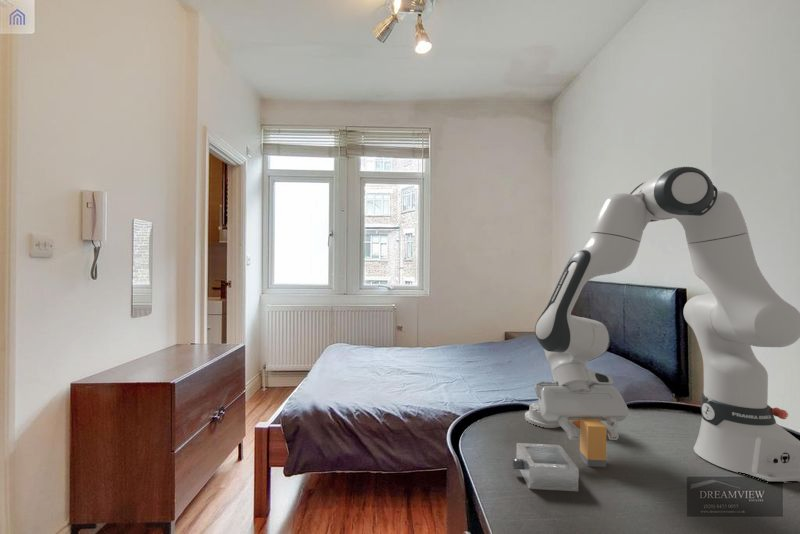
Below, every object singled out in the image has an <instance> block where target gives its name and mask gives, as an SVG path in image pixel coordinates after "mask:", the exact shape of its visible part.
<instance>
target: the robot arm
mask: <svg viewBox="0 0 800 534" xmlns="http://www.w3.org/2000/svg"><path fill="white" fill-rule="evenodd" d="M603 201H604V202H603V203H602V205H601V207H600V209H599V210H598V213H597V214H596V217H595V220H594V222H593V225H592V227H591V230H590V234H589V237H588V239H587V241H586V242H585V244H584V246H583V247H582V248H581V250H579V251H575V252H574V253H573V254H572V256H571V257H570V258H569V260H568V262H567V263H566V266H565V267H564V269H563V271H562V273H561V276H560V277H559V280H558V281H557V284H556V285H555V288H554V290H553V293H552V295H551V297H550V299H549V300H548V303H547V304H546V307H545V308H544V310H543V312H542V313H541V315H540V316H539V317H538V319H537V321H536V323H535V325H534V326H535V327H534V333H535V334H534V335H535V338H536V339H537V342H538V343H539V344H540V346H541V347H542V348H543V352H544V355H545V358H546V361H547V363H548V364H549V366H550V369H551V371H550V372H551V377H552V379H553V381H539V382H538V383H536V385H535V386H534V391H535V395H536V397H537V398H538V402H539V405H540V411H541V415H542V417H543V418H544V419H545V420H553V421H558V422H559V425H560V427H561V428H562V429H563V430H564V431H565V433H566V434H567V437H568V439H569V440H577V439H578V438H579V435H578V433H577V429H575V428H572V427H571V426H570V424H569V423H568V421H569V422H571V421H572V422H573V421H580V419H598V420H599V421H600V422H606V424H607V426H609V429H608V430H607V436H608V437H607V439H608V440H611V441H617V440H618V439H619V433H618V431H617V427H618V423H619V422H623V421H624V420H625V419H627V417H629V415H630V414H629V413H630V410H629V408H628V406H627V404H626V402H625V401H626V400H625V399H624V398H623V396H622V394H621V393H620V390H619V389H617V388H616V387H615V386H613V384H614V381H613V378H612V377H611V376H610V375H608V374H603V373H600V372H598V371H597V372H596V371H594V370H592V369H589V368H588V367H587V365H586V364H587V362H591V361H594V360H595V359H597V358H599V357H601V356H603V355H604V354H606V353H607V350H608V349H609V347H610V343H611V336H610V332H609V330H608V327H607V326H606V325H605V324H604V323H603V322H601V321H598V320H595V319H591V318H588V317H587V318H586V317H584V316H583V317H581V316H576V315H574V314H572V311H573V309H574V307H575V305H576V303H577V300H578V299H579V296H580V294H581V292H582V290H583V288H584V286H585V285H586V283H588V282H589V281H590V280H592V279H594V278H595V277H600V276H605V275H612V274H616V273H619V272H621V271H623V270H625V269H627V268H628V267H630V266H631V265H632V263H634V260H635V259H636V257H637V254H638V251H639V248H640V245H641V241H642V237H643V234H644V230H645V229H646V227H647V226H648V224H649V223H650V222H651V223H652V222H658V221H666V220H671V219H676V220H677V221H678V222H679V223H680V225H681V226H682V228H683V230H684V232H685V233H684V234H685V239H686V242H687V243H686V244H687V248H688V251H689V257H690V261H691V264H692V268H693V272H694V274H695V276H696V277H697V278H699V279H700V280H701V281H702V282H703V283H704V284H705V285H706V286H707V287H708V289H709V290H710V291H711V292H709V293H708V292H707V293H702V294H698V295H694V296H692V297H691V298H689V299H688V300H687V301H686V303H685V304H684V307H683V310H682V311H683V317H684V320H685V322H686V323H687V324H688V325H689V326H690V327H691V329H692V331H693V333H694V335H695V338H696V340H697V344H698V346H699V350H700V353H701V357H702V364H703V392H702V393H701V396H700V411H701V421H700V426H699V430H698V431H699V432H698V434H697V439H696V441H695V444H694V446H693V451H694V453H695V454H696V455H698V456H699V457H700V458H702V459H703V460H705V461H706V462H708V463H711V464H713V465H715V466H717V467H720V468H722V469H724V470H725V469H726V470H727V471H732V472H735V473H738V472H742V473H746V474H750V475H753V476H756V477H759V478H762V479H765V480H767V481H790V480H798V479H800V440H799V439H798V438H796V437H795V436H794V435H792V434H791V433H790V432H788V431H787V430H786V429H785V428H783V427H782V426H781V425H780V424H778V423H777V421H776V419H775V417H777V418H779V419H781V420H786V419H787V418H788V417H789V413H788V412H787V410H784V409H782V408H779V407H771V405H768V399H769V398H768V397H769V394H768V392H769V390H768V388H769V375H768V371H767V369H766V367H765V366H764V365H763V364H762V363H761V362H760V360H758V358H757V357H756V355H755V353H754V351H753V348H752V346H753V347H758V348H785V347H788V346H791V345H793V344H795V343H796V342H797V341H798V340H799V339H800V311H799V310H798V309H797V308H796V307H795V306H793V305H792V304H790V303H789V302H787V301H786V300H784V299H783V298H782V297H781V296H780V295H779V294H778V293H777V292H776V291H775V290H774V289H773V287H772V286H771V285H770V283H769V282H768V280H767V278H766V277H765V276H764V275H763V273H762V271H761V270H760V267H759V264H758V263H757V260H756V256H755V253H754V250H753V246H752V241H751V239H750V235H749V229H748V227H747V223H746V221H745V218H744V215H743V213H742V210H741V208H740V207H739V204H738V203H737V201H736V199H735V197H734V195H732V194H731V193H729V192H727V191H722V190H718V188H717V187H716V186H715V185H714V183H713V182H712V179H711V178H710V177H709V176H708V174H707V173H705V172H704V171H703V170H701V169H699V168H698V167H693V166H681V167H674V168H671V169H669V170H667V171H663V172H660V173H657V174H656V175H653V176H652V177H650V178H649V179H648V180H646V181H645V182H642V183H640V184H639V185H638V186H636V187H634V189H633V190H632V191H631V192H630V193H627V192H626V193H616V194H613V195H611V196H610V195H609V196H608V197H607V198H606V199H605V200H603Z"/></svg>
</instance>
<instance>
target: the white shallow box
mask: <svg viewBox="0 0 800 534" xmlns="http://www.w3.org/2000/svg"><path fill="white" fill-rule="evenodd" d="M515 454H516V457H515V458H512V459H511V466H512V469H513V470H519V471H520V473H521V476H522V477H523V479H524V482H525V484H526V485H527V488H528V489H530V490H546V491H562V492H564V491H565V492H579V474H580V473H579V470H580V469H579V467H578V466H577V465H576V463H575V462H574V461H573V459H572V458H571V457H570V456H569V454H568V453H567V452H566V451H565V449H564V448H563V447H562V445H561V444H550V443H549V444H547V443H546V444H545V443H530V442H529V443H527V442H525V443H524V442H516V453H515Z"/></svg>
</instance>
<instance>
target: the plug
mask: <svg viewBox="0 0 800 534" xmlns="http://www.w3.org/2000/svg"><path fill="white" fill-rule="evenodd" d="M607 429H608V428H607V426H606V425H605V424H604V423H603V421H599V420H598V419H580V430H579V458H580V459H581V460H582V462H584V464H585V465H586V466H587V467H597V468H599V467H600V468H607V436H608V435H607V432H608V430H607Z"/></svg>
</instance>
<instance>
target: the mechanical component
mask: <svg viewBox="0 0 800 534" xmlns="http://www.w3.org/2000/svg"><path fill="white" fill-rule="evenodd" d="M524 419H525V421H526V422H527V421H528V422H527V423H529V424H530V423H531V424H530V425H533V424H534V425H533V426H535V425H537V426H536V427H539V426H540V428H543V427H544V428H546V429H556V428H560V427H561V426H560V425H559V422H558V421H553V420H545V419H544V418H543V417H542V415H541V411H540V405H539V401H538V402H532V403H531V404H529V409H528V411H526V412H524Z"/></svg>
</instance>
